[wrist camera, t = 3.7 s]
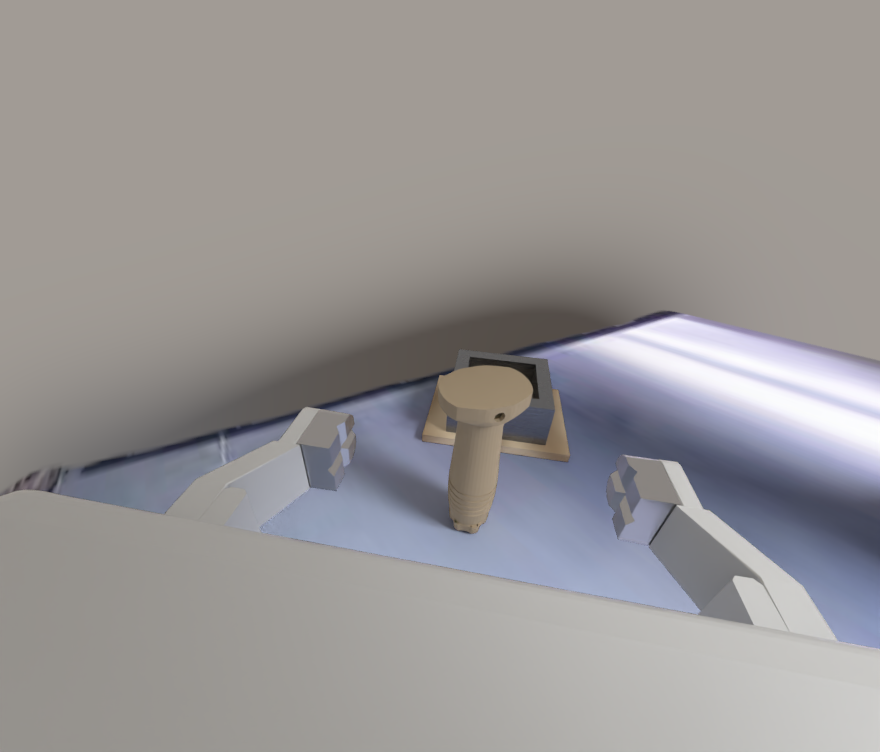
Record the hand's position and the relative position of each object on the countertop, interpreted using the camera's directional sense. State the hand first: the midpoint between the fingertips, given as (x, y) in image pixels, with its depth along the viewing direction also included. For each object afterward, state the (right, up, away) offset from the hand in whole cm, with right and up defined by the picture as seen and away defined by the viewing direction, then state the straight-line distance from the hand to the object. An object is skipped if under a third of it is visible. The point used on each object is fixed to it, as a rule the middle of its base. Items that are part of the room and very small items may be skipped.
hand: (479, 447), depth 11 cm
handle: (+1, -11, +22) cm, 25 cm away
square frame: (+6, -2, +33) cm, 34 cm away
